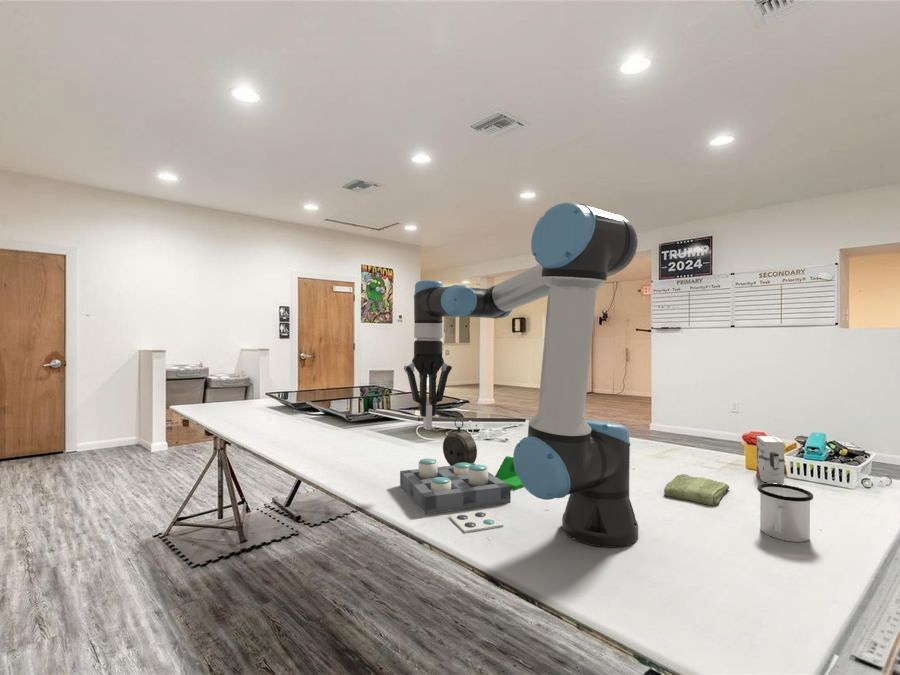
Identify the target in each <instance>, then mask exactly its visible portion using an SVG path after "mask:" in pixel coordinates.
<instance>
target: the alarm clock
mask: <svg viewBox="0 0 900 675" xmlns="http://www.w3.org/2000/svg"><path fill="white" fill-rule="evenodd" d="M457 420H460V421H461V423H462V424H461V426H457V424H456V421H457ZM454 426H455V428H456V429H457V431H454V432H450V433H449V434H447V435H446V436H445V437H444V440H443V444H442V452H443V456H444V459H445V460H446V462H447V463H448V465H449V466H452V465H455V464H456V463H469V464H472V463H475V462H476V459H477V457H478V448H477V447H478V446H477V444H476V442H475V439H474V438H473V436H472V435H471V434H470V433H469V432H467V431H466V430H462V428H463V426H464V420H463V419H462V418H461V417H456V418H455V420H454Z"/></svg>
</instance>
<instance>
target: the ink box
mask: <svg viewBox="0 0 900 675" xmlns="http://www.w3.org/2000/svg"><path fill="white" fill-rule="evenodd" d="M757 475H758V476H759V477H760V478H761V479H762V480H763V481H764V482H767V483H777V484H784V485H785V441H784V440H781V438H779V437H777V436H773V435H770V436H769V435H768V436H767V435H756V476H757ZM758 476H757V477H758ZM759 477H758V478H759ZM760 478H759V479H760ZM761 479H760V480H761ZM762 480H761V481H762ZM763 481H762V482H763ZM764 482H763V483H764Z"/></svg>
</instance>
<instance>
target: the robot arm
mask: <svg viewBox="0 0 900 675" xmlns="http://www.w3.org/2000/svg"><path fill="white" fill-rule="evenodd" d="M530 247H531V248H530V249H531V253H532V256H534V259H535V261H536V262H537V263H538V264H536V265H534V266H532V267H530V268H528V269H526V270H523V271H522V272H519V273H518V274H516V275H513V276H511V277H510V278H507V279H505V280H502V281H501V282H499V283H497V284H495V285H492V286H490V287H488V288H480V287H479V288H478V287H470V286H468V285H466V284H464V285H462V284H459V285H458V284H453V285H450V286H444V284H443V282H442V281H440V280H439V281H438V280H431V279H430V280H419V281H417V282H415V285H414V295H413V306H414V307H413V311H414V312H413V314H414V315H413V316H414V317H413V320H414V321H413V323H414V324H413V330H414V331H413V334H414V335H413V337H414V339H415V340H414V341H413V359H412V360H411V362H410V363H409V364H408V365H405V366H403V370H404V372H405V373H406V374H407V379H408V383H409V388H410V391H411V396H412V400H413V401H414V402H415V403H418V404H419V416H421V417H422V418H423V419H422V420H423V421H422V422H423V428H424V429H425V430H427V431H428V430H429V431H430V430H433V417H435V415H436V405H437V403H439V402H442V401H443V398H444V395H445V390H446V387H447V380H448V377H449V374H450V372H451V371H452V366H451V365H449V364H447V363H445V360H444V357H443V341H442V340H441V339H442V338H443V322H444V321H443V318H444V317H447V318H449V317H450V318H452V317H454V318H486V319H489V318H490V319H503V318H506V317H508V316H509V315H510V314H511V313H512V312H513V310H516V309H518V308H520V307H522V306H525V305H527V304H530V303H533V302H535V301H537V300H539V299H542V298H545V297H547V301H546V302H547V303H546V313H545V314H546V315H545V324H544V326H545V328H544V338H543V349H542V358H541V359H542V360H541V372H540V382H539V383H540V384H539V385H540V386H539V394H538V395H539V396H538V405H537V406H538V407H537V414H536V415H534V416H533V417H532V418H530V419H529V420H528V428H527V436H526V437H523V438H521V440H519V442H517V443H516V445H515V447H514V450H513V456H512V457H513V462H514V468H515V471H516V474H517V476H518V478H519V479H520V481H521V483H522V485H523V486H524V487H523V488H524V489H526V491H528V492H529V494H530V495H532V496H534V497H535V498H538V499H541V500H544V501H545V500H546V501H547V500H548V501H549V500H553V499H563V498H565V497H566V496H568V495H569V496H568V499H567V503H566V506H565V510H564V512H563V514H562V518H561V529H562V531H563V533H564V534H566V536H568V537H569V538H571V539H573V540H575V541H577V542H580V543H583V544H587V545H590V546H596V547H604V548H605V547H606V548H621V547H627V546H630V545H632V544H635V543H636V542H637V541H638V539H639V523H638V520H637V519H636V514H635V511H634V509H633V506H632V505H633V504H632V501H631V499H630V459H631V458H630V456H631V452H630V450H631V448H630V447H631V442H630V432H629V429H628V428H627V426H625V425H623V424H622V423H621V424H620V423H616V422H609V421H604V420H598V419H597V420H595V419H589V418H587V419H585V412H586V401H587V392H588V382H589V372H590V361H591V354H592V341H593V331H594V330H593V329H594V319H595V309H596V300H597V292H598V290H599V289H600V288H601V287H602V286H603V285H605V284H606V283H607V278H608V277H611V276H613V275H615V274H618V273H620V272H621V271H623V270H624V269H626V268H627V267H628V266H629V265H630V264H631V263H632V261H633V259H634V257H635V256H636V253H637V249H638V234H637V232H636V229H635V227H634V226H633V225H632V223H631V222H630V221H629V220H628V219H627V218H625V217H624V216H622V215H620V214H617V213H615V212H614V213H613V212H610V211H609V212H608V211H604V210H602V209H598V208H596V207H591V206H589V205H586V204H584V203H574V202H561V203H558V204H555V205H554V206H552V207H550V208H549V209H547V210H546V211H545V212H544V214H543V215H542V216H540V218H539V219H538V221H537V222H536V223H535V226H534V229H533V232H532V235H531V240H530ZM415 369H416V372H417V373H418V378H419V388H418V385H417V384H418V383H417V380H416V376H415ZM440 370H441V373H440V375H439V379H438V380H439V381H438V384H437V378H438V372H439V371H440ZM427 391H428V392H427ZM427 395H428V396H427ZM427 398H428V399H427ZM427 400H428V401H427ZM428 402H429V403H428Z"/></svg>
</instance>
